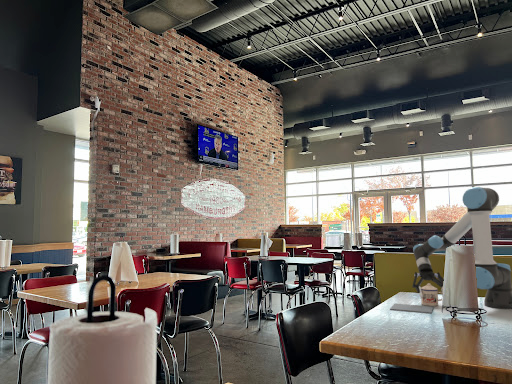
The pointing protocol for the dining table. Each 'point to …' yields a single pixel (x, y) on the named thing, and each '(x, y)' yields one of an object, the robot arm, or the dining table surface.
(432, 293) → the teacup with lid
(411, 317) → the dining table surface
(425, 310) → the mat
